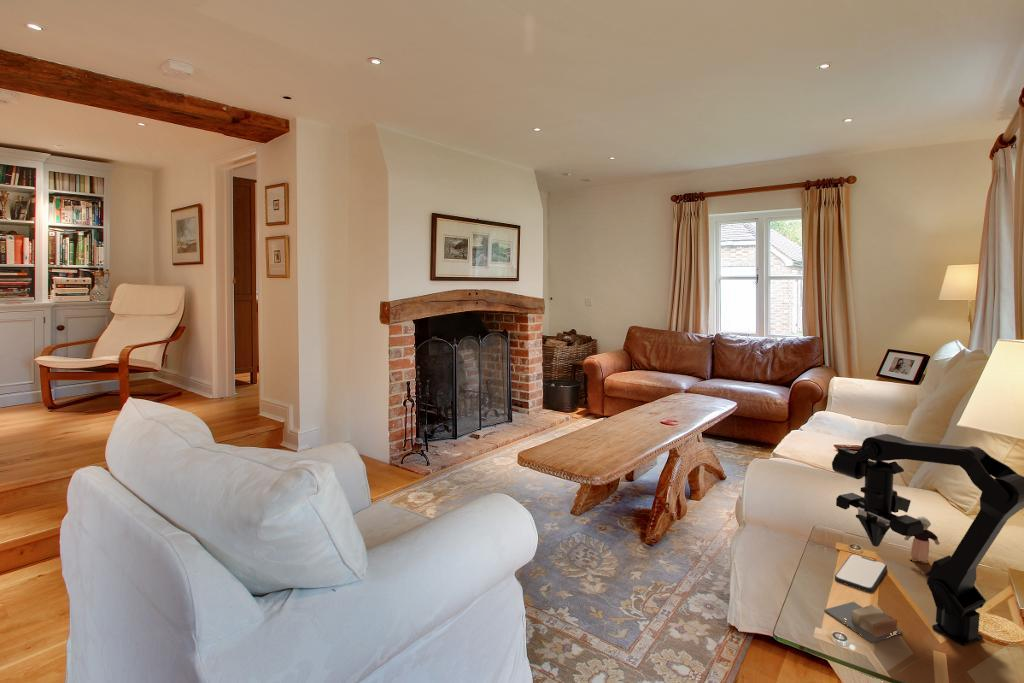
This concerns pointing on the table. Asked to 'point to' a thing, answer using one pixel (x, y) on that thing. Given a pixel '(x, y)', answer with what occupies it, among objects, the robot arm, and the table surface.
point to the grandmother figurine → (922, 542)
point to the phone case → (861, 572)
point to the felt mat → (846, 612)
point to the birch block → (874, 620)
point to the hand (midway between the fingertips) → (875, 545)
